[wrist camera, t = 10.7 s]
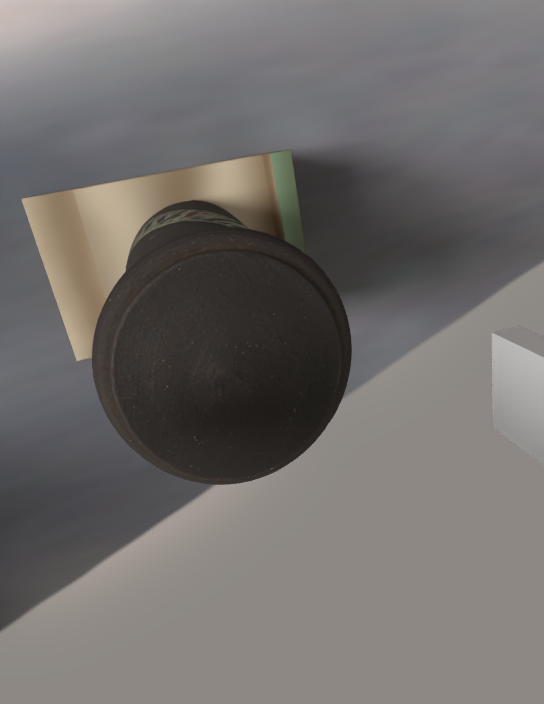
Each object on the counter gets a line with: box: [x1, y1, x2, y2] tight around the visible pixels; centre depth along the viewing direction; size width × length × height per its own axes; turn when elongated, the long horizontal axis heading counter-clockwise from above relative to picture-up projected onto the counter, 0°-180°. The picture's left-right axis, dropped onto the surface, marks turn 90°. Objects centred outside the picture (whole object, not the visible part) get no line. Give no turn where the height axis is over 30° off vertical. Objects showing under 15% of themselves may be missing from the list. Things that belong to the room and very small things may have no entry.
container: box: [92, 200, 352, 485], centre depth 25 cm, size 9×9×20 cm
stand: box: [22, 150, 306, 361], centre depth 36 cm, size 17×12×10 cm
